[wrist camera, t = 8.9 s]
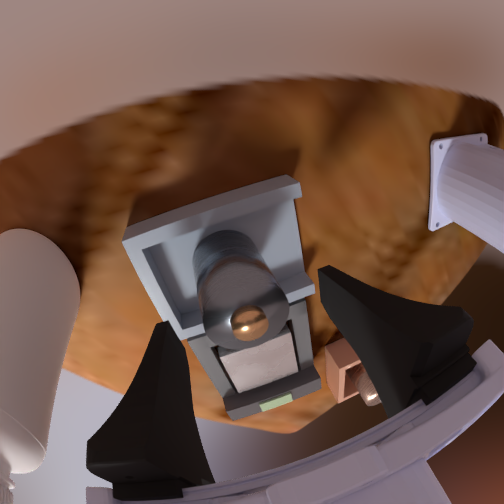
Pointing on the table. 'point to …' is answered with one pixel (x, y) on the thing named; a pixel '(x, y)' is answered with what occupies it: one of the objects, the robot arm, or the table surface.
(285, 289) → the trough
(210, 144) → the table surface
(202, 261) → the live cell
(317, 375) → the digital scale
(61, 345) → the pill bottle
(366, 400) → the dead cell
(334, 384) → the pink square tube
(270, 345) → the pad
